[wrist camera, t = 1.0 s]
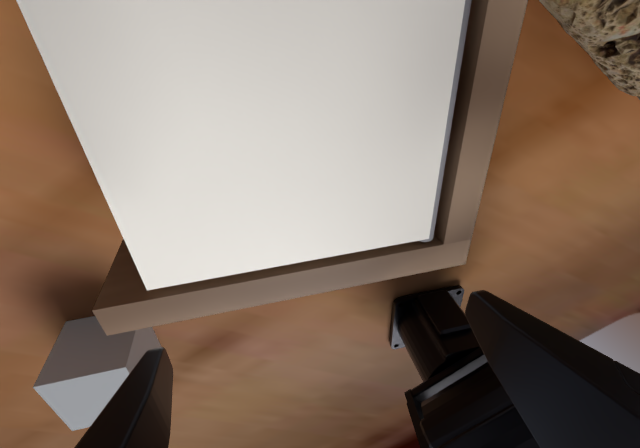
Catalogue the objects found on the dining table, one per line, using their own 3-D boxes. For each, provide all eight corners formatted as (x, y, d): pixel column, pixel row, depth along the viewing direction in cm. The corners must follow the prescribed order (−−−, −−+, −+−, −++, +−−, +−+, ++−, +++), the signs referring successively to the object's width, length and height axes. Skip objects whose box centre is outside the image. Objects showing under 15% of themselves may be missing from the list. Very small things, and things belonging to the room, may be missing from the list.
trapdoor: (427, 228, 16) (437, 240, 16) (152, 277, 14) (148, 294, 14) (480, -138, 10) (504, -151, 9) (-25, -140, 8) (-55, -157, 7)
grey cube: (163, 350, 27) (152, 411, 23) (96, 364, 27) (72, 430, 22) (142, 306, 25) (125, 367, 21) (66, 320, 24) (32, 387, 20)
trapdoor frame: (395, 187, 24) (465, 264, 17) (146, 226, 21) (106, 335, 14) (421, -140, 15) (589, -261, 8) (1, -141, 12) (-285, -321, 6)
